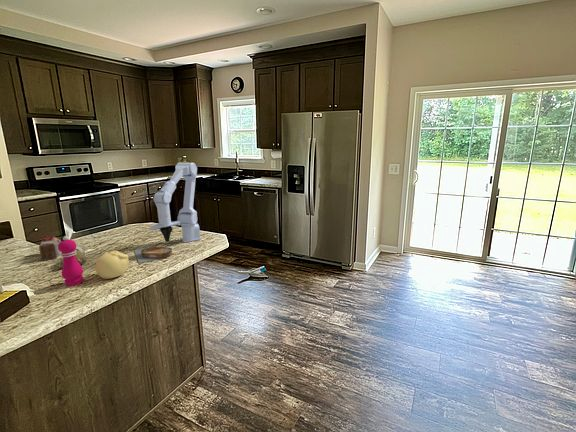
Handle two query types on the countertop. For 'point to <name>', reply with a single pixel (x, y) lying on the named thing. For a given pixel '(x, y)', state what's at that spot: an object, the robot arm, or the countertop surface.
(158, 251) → the tin
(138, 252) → the mat
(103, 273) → the sculpture
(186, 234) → the robot arm
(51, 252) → the food item
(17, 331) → the countertop surface
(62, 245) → the pepper mill
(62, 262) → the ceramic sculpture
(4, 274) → the countertop surface
